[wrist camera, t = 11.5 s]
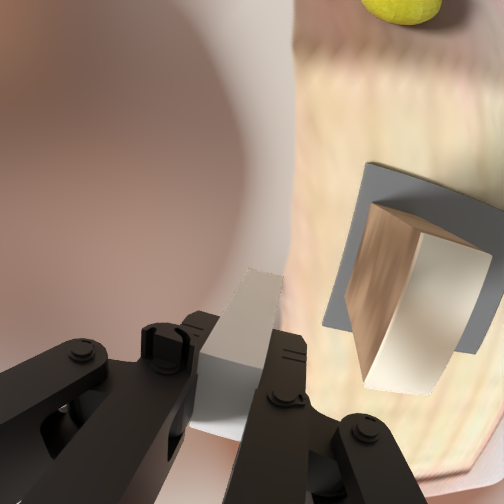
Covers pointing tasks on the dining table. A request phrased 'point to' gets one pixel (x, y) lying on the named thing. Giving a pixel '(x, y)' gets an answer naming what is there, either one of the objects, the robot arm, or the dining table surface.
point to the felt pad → (442, 215)
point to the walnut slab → (410, 299)
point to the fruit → (403, 10)
